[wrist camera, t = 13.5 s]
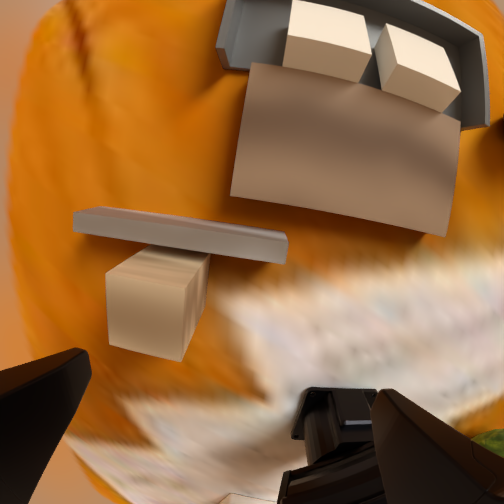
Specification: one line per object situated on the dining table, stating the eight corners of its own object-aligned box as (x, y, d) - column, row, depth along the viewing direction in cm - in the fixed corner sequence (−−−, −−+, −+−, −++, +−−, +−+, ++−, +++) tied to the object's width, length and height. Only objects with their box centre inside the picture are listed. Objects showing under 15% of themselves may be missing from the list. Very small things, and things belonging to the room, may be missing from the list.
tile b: (358, 83, 14) (371, 54, 12) (282, 66, 14) (287, 34, 12) (353, 41, 15) (363, 15, 13) (287, 27, 15) (292, -1, 13)
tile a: (441, 113, 14) (460, 91, 12) (381, 90, 14) (397, 63, 12) (428, 68, 15) (443, 47, 13) (374, 48, 15) (385, 23, 13)
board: (427, 230, 19) (445, 237, 16) (233, 193, 18) (229, 195, 16) (442, 125, 17) (460, 121, 14) (252, 75, 17) (251, 62, 14)
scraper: (268, 315, 20) (271, 376, 14) (99, 284, 20) (46, 323, 14) (283, 231, 19) (296, 260, 12) (100, 206, 19) (38, 220, 12)
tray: (461, 130, 17) (489, 126, 13) (223, 68, 16) (215, 47, 13) (459, 47, 15) (482, 34, 11) (242, -16, 15) (239, -43, 11)
